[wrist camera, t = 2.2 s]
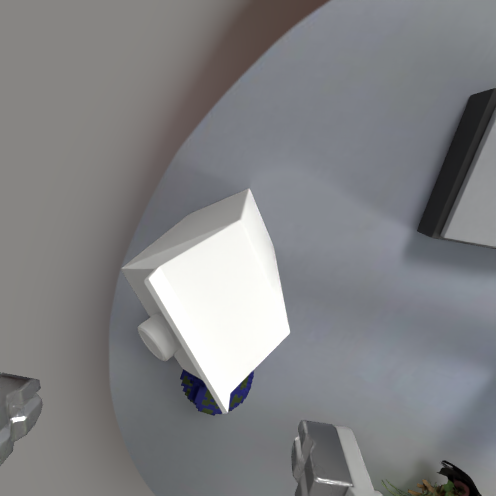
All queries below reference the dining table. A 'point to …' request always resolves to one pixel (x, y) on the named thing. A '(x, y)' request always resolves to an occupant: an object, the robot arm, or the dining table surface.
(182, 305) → the milk carton
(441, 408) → the dining table surface
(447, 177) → the scale
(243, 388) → the ball
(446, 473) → the plant
